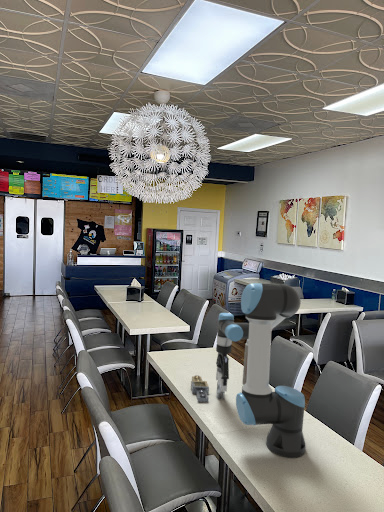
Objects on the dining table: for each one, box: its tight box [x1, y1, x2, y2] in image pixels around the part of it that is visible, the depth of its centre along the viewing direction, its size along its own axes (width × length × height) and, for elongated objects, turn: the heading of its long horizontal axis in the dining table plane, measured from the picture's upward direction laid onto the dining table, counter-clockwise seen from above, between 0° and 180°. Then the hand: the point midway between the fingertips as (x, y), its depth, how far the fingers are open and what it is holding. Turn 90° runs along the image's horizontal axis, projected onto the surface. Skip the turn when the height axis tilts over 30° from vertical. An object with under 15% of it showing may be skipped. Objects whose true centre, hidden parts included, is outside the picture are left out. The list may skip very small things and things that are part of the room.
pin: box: [216, 367, 226, 400], centre depth 196 cm, size 5×5×15 cm
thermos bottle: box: [241, 339, 249, 385], centre depth 216 cm, size 8×8×28 cm
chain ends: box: [190, 374, 210, 403], centre depth 204 cm, size 27×8×4 cm, turn 7°
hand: (221, 385), depth 197 cm, fingers open, 13 cm apart
